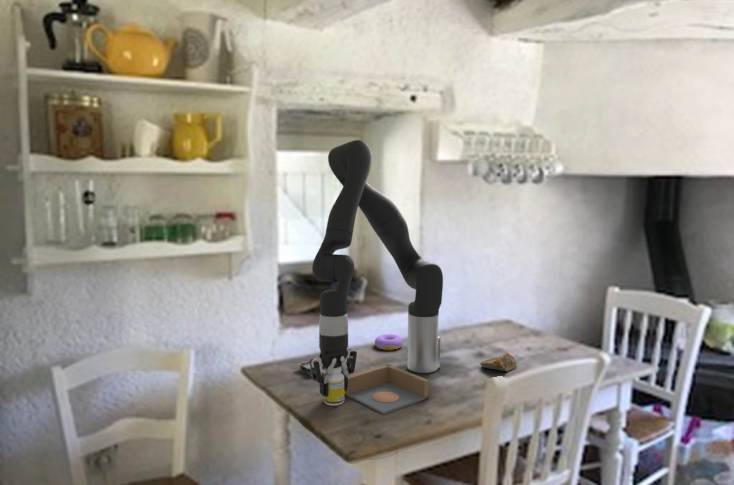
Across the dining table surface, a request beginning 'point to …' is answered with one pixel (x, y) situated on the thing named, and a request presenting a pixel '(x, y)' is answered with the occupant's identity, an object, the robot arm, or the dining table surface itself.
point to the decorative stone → (500, 362)
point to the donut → (388, 342)
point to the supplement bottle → (335, 388)
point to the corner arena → (387, 388)
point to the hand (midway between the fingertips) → (333, 392)
